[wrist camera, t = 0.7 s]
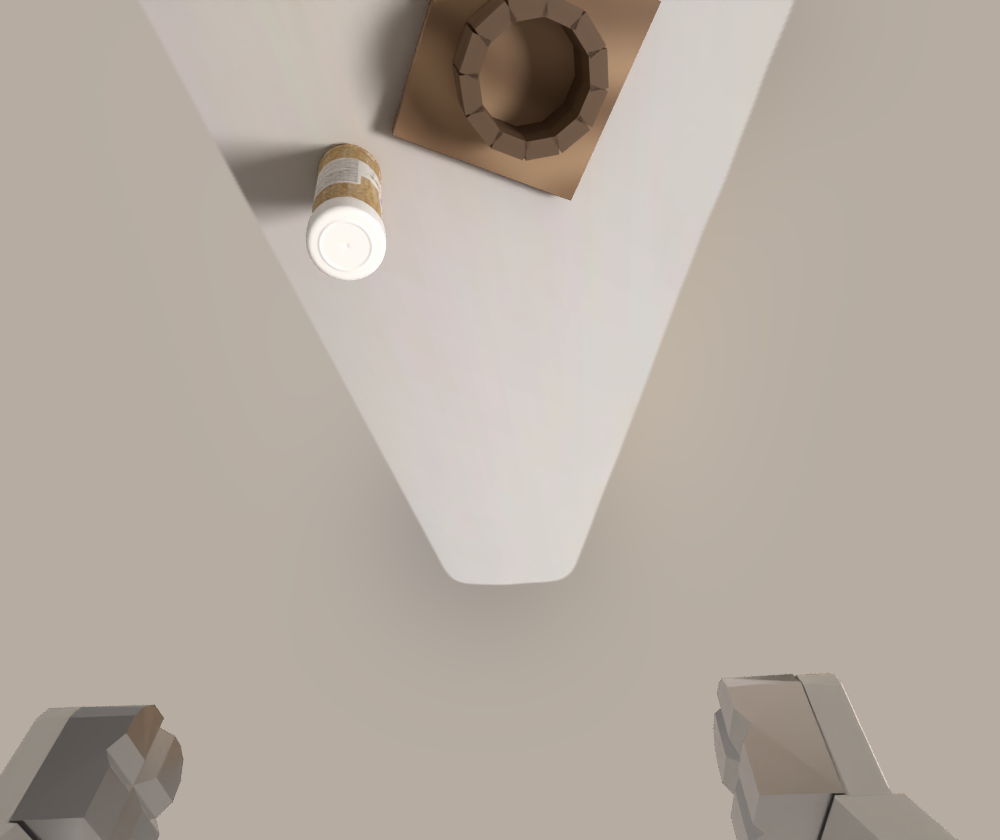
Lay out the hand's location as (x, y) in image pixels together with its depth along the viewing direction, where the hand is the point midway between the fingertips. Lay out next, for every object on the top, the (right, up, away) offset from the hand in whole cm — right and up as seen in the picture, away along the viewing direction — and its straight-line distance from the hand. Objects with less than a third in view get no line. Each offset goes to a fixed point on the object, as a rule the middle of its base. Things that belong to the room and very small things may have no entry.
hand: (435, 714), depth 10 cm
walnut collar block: (+2, +29, +38) cm, 48 cm away
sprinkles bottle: (-10, +22, +41) cm, 48 cm away
